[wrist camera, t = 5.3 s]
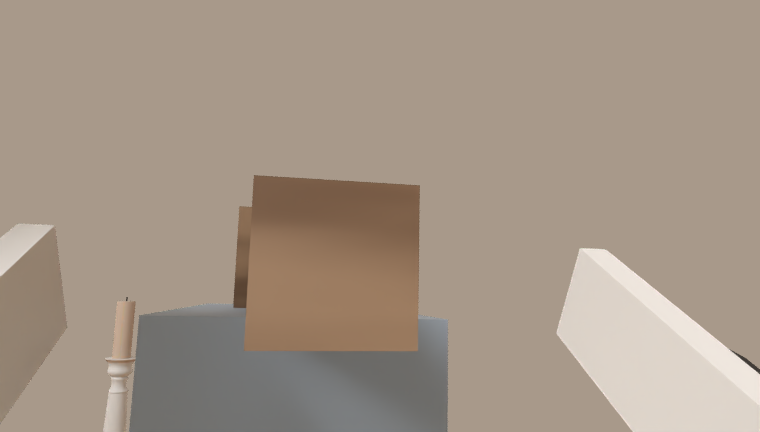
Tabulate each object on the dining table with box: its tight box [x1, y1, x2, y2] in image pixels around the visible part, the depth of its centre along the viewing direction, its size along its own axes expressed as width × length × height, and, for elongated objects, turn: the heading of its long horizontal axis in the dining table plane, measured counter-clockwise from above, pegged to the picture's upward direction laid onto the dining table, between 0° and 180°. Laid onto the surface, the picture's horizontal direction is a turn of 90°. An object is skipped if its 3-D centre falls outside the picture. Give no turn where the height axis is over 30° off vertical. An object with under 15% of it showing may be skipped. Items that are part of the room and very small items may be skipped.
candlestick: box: [103, 299, 136, 432], centre depth 61 cm, size 13×13×30 cm
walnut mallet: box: [233, 175, 420, 351], centre depth 24 cm, size 30×7×6 cm, turn 11°
